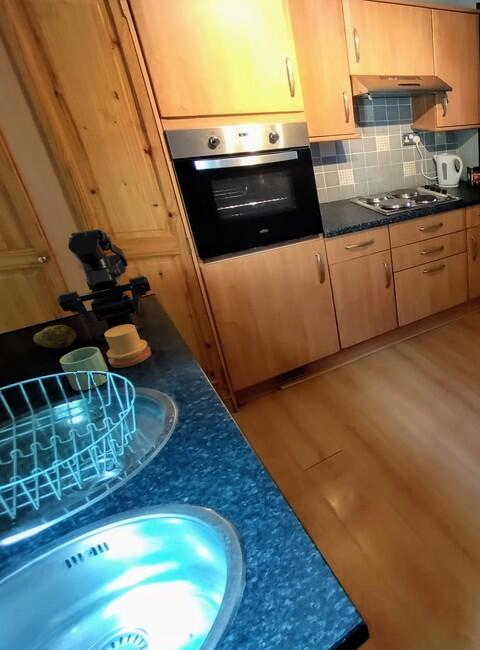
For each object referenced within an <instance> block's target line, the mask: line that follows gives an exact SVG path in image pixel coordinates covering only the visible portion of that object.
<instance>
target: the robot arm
mask: <svg viewBox="0 0 480 650" xmlns="http://www.w3.org/2000/svg"><path fill="white" fill-rule="evenodd" d="M67 247H68V249H69V251H70V252H71V254H72V255H73V256H74V258H75V259H76V260H77V261H78V262H79V263H80V264H81V267H82V271H83V273H84V275H85V281H86V285H87V288H88V290H90V292H86V293H81V294H79V293H78V291H77V290H74V291H69V292H65V293H60V294H58V295H57V296H56V300H57V303H58V305H59V306H60V307H61V309H62V310H63V312H71V313H73V314H74V313H78V314H79V315H80V316H81V317H83V318H84V319H85V320H86V321H87V322H88V323H89V324H90V325H91V326H92V327H93V328H95V327H96V324H95V320H94V319H93V318H92V316H91V313H89V311H88V309H87V308H86V306H85V304H84V302H87V301H91V302H90V307H91V310H92V312H93V314H94V316H95V318H96V320H97V321H98V322H102V321H105V322H106V324H107V327H108V330H109V329H111V328H114V327H116V326H120V325H125V324H132V325H134V326H135V328H136V330H137V332H140V331H142V327H140V326H137V325H135V322H134V319H133V317H132V314H136V316H139V315H140V307H141V302H142V297H144V296H146V295H147V293H148V292H150V291H152V288H151V286H150V282H149V280H148V277H147V276H145V275H140V276H135V277H131V278H128V283H125V284H121V276H122V275H123V274H125V273H126V272H127V267H128V266H129V264H128V261H127V259H126V255H125V254H124V250H123V249H122V248H120V247H118V246H117V245H115V244H113V243H112V240H111V236H110V235H108V233H106V232H105V231H103V230H102V229H101V228H97V229H90V230H83V231H77V232H76V231H75V232H72V233H71V237H70V236H69V237H68V245H67ZM106 251H111V253H113V254H107V253H106ZM129 291H130V292H131V296H132V297H131V296H130V295H129V293H128V294H127V293H126V292H129Z"/></svg>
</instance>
